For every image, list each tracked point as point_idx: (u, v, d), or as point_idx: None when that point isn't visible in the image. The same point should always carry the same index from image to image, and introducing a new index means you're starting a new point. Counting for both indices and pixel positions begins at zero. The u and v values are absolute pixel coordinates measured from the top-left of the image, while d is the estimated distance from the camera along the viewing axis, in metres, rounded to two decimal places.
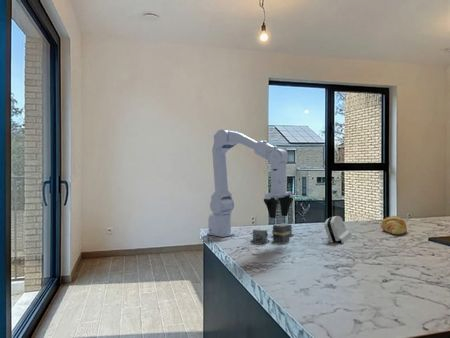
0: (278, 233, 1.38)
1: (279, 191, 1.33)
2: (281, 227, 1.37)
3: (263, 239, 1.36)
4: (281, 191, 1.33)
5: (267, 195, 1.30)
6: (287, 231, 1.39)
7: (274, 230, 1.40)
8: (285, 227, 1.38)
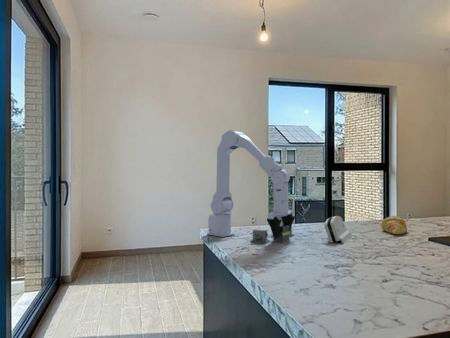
0: None
1: (281, 210, 1.37)
2: (281, 227, 1.37)
3: (263, 239, 1.36)
4: (284, 211, 1.37)
5: (270, 215, 1.35)
6: (287, 231, 1.39)
7: None
8: (285, 227, 1.38)
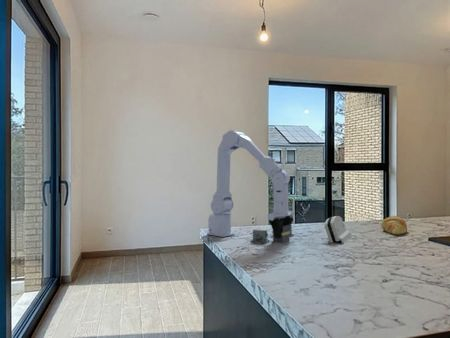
0: None
1: (281, 212, 1.37)
2: (281, 227, 1.37)
3: (263, 239, 1.36)
4: (284, 212, 1.37)
5: (270, 216, 1.35)
6: (287, 231, 1.39)
7: None
8: (285, 227, 1.38)
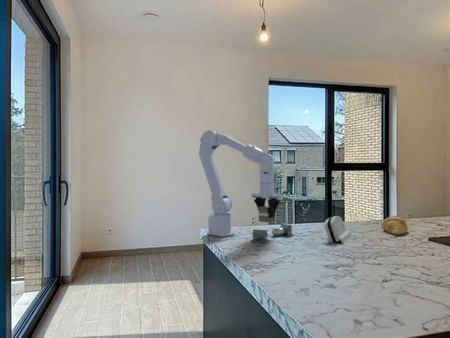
0: None
1: None
2: None
3: (263, 239, 1.36)
4: (260, 192, 1.46)
5: None
6: (265, 213, 1.44)
7: None
8: (262, 208, 1.45)
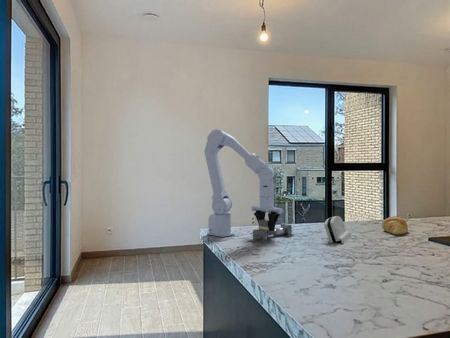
0: None
1: None
2: None
3: (263, 239, 1.36)
4: (260, 206, 1.46)
5: None
6: (264, 226, 1.44)
7: None
8: (262, 221, 1.45)
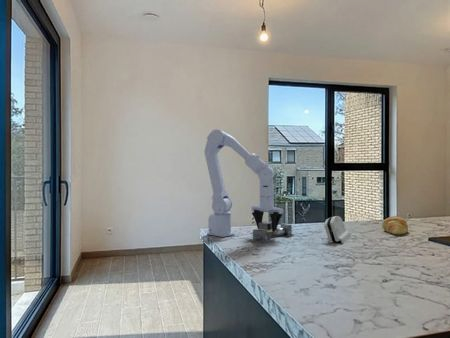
0: None
1: None
2: None
3: (263, 239, 1.36)
4: (260, 206, 1.46)
5: None
6: (264, 229, 1.44)
7: None
8: (262, 224, 1.45)
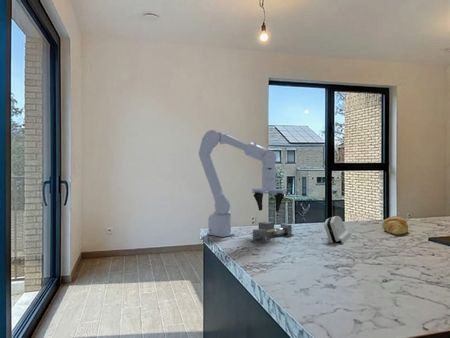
0: None
1: (262, 187, 1.52)
2: None
3: (263, 239, 1.36)
4: (263, 187, 1.51)
5: None
6: (264, 229, 1.44)
7: None
8: (262, 224, 1.45)
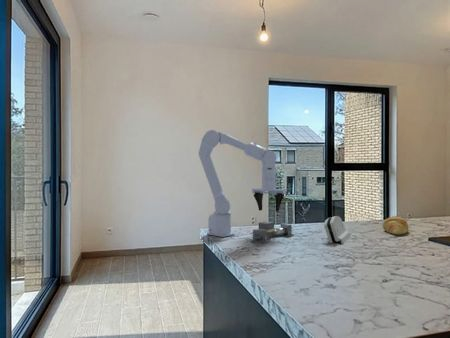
0: None
1: (262, 187, 1.52)
2: None
3: (263, 239, 1.36)
4: (263, 187, 1.51)
5: None
6: (264, 229, 1.44)
7: None
8: (262, 224, 1.45)
